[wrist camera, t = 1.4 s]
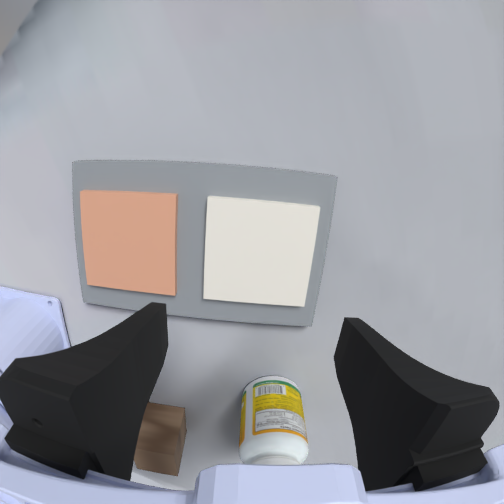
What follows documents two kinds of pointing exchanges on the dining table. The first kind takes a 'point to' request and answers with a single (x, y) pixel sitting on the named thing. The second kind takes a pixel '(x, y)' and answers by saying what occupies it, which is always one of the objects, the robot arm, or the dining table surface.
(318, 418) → the dining table surface
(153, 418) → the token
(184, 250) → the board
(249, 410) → the supplement bottle
